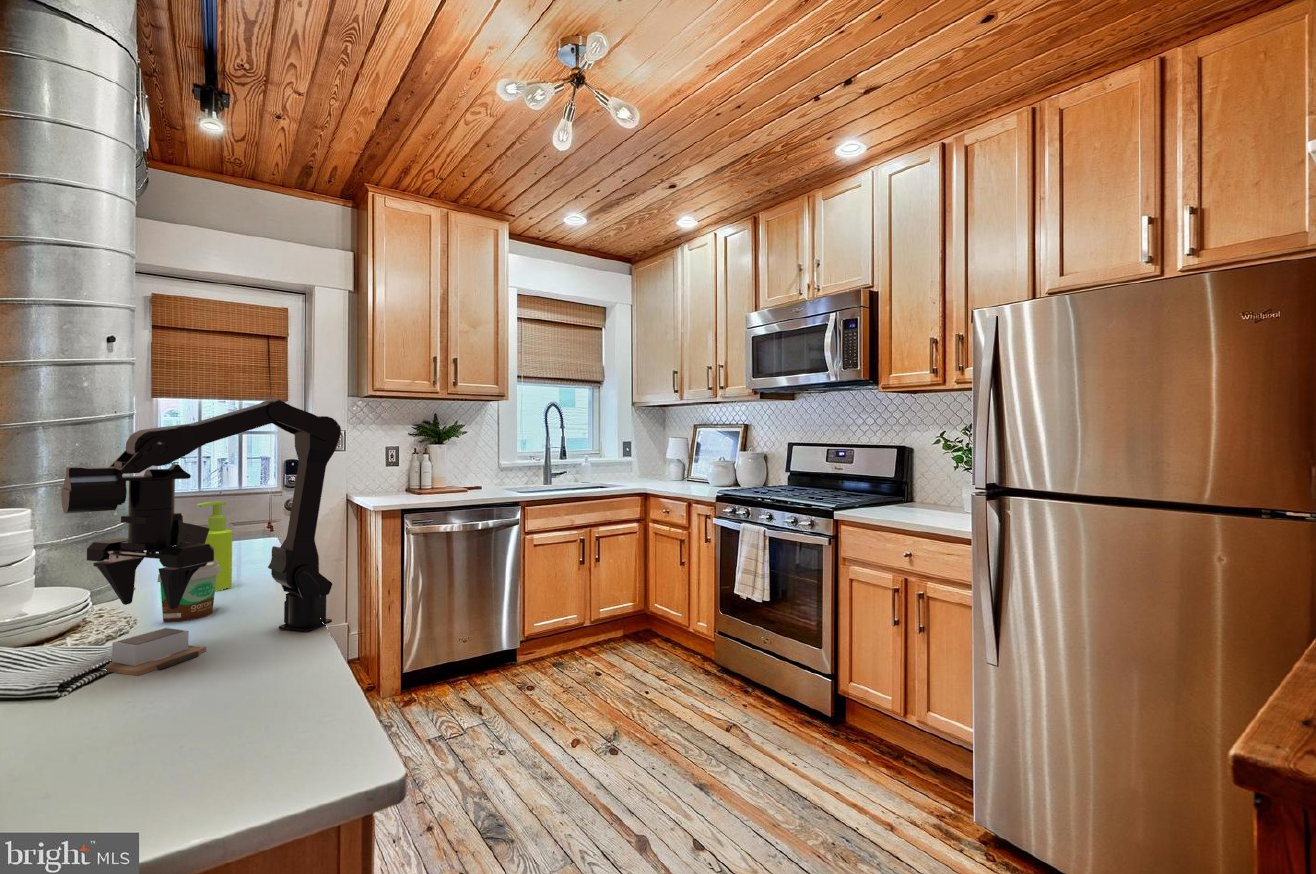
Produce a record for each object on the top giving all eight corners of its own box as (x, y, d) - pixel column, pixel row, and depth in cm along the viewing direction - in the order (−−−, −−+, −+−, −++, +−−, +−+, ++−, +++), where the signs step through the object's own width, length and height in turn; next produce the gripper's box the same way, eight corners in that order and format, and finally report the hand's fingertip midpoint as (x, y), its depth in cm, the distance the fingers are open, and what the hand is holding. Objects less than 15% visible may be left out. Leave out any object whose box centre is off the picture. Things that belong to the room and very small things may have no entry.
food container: (189, 625, 118) (189, 572, 118) (156, 624, 118) (157, 571, 118) (234, 607, 130) (235, 558, 130) (205, 606, 130) (206, 558, 130)
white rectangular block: (188, 649, 103) (188, 630, 103) (134, 666, 96) (135, 645, 96) (166, 645, 105) (166, 627, 105) (112, 662, 97) (112, 641, 97)
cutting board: (212, 651, 104) (212, 646, 104) (144, 676, 94) (144, 671, 94) (162, 645, 107) (162, 641, 107) (91, 669, 96) (91, 664, 96)
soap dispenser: (189, 590, 142) (190, 502, 142) (222, 584, 148) (223, 499, 148) (204, 594, 139) (205, 504, 139) (236, 587, 146) (238, 501, 145)
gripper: (244, 505, 106) (242, 598, 106) (155, 500, 110) (154, 590, 110) (180, 513, 95) (179, 616, 95) (84, 507, 99) (83, 607, 99)
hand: (150, 606), depth 100 cm, fingers open, 9 cm apart
